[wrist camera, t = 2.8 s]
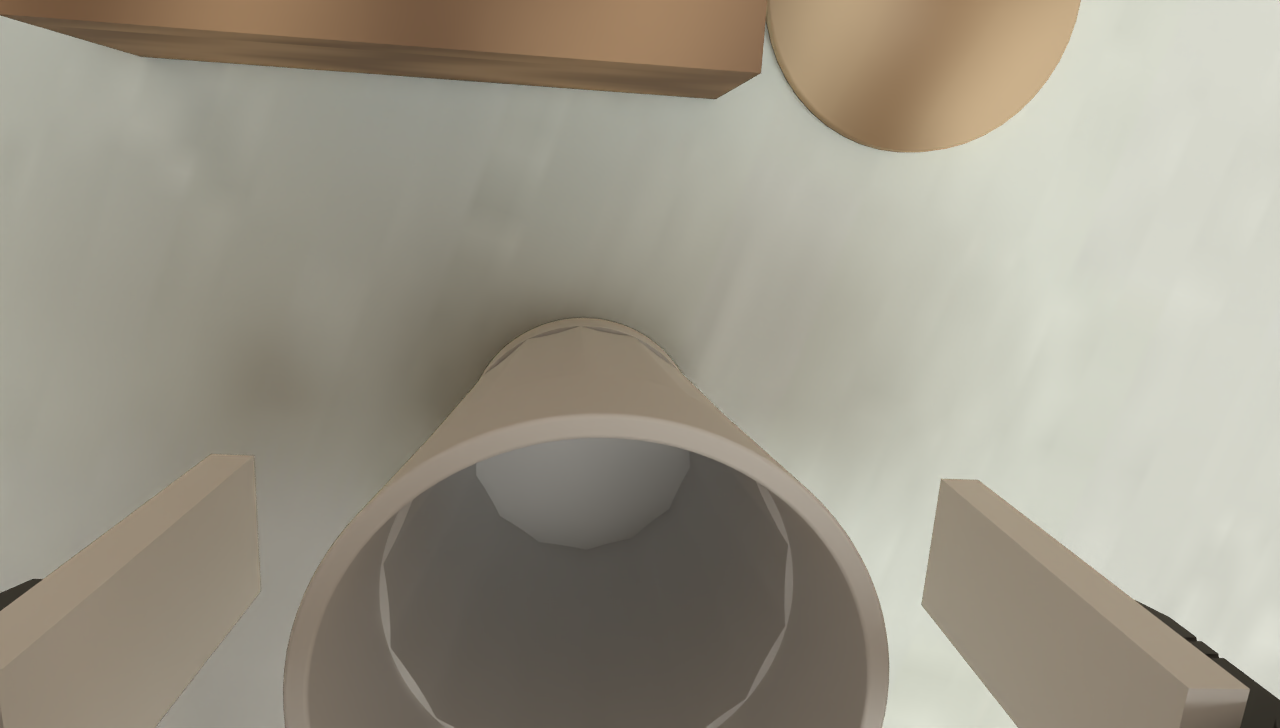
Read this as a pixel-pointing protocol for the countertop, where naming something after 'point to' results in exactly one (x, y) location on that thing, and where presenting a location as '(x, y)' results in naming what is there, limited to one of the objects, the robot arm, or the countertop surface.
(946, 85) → the coaster
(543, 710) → the cup
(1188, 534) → the countertop surface
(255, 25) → the wooden tray
